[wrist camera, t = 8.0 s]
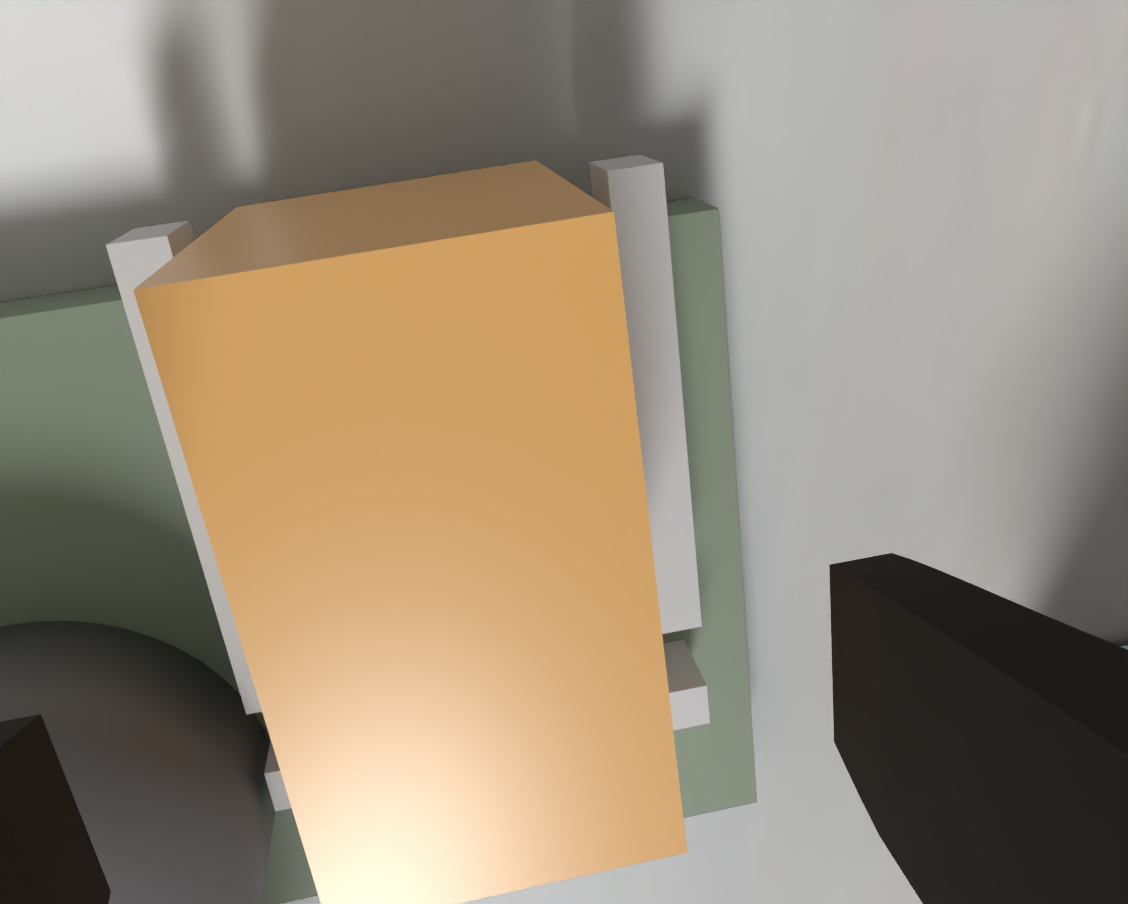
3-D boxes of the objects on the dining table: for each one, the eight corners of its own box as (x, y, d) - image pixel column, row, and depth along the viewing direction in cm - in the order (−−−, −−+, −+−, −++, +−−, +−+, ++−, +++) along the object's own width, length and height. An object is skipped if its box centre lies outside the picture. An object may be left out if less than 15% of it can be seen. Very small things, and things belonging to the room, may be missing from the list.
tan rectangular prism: (535, 159, 15) (614, 210, 9) (599, 611, 18) (686, 851, 12) (235, 206, 14) (133, 289, 9) (352, 660, 18) (330, 932, 12)
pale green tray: (688, 137, 17) (784, 160, 12) (734, 755, 21) (813, 918, 17) (-321, 284, 15) (-595, 364, 11) (-26, 912, 20) (-137, 1133, 16)
